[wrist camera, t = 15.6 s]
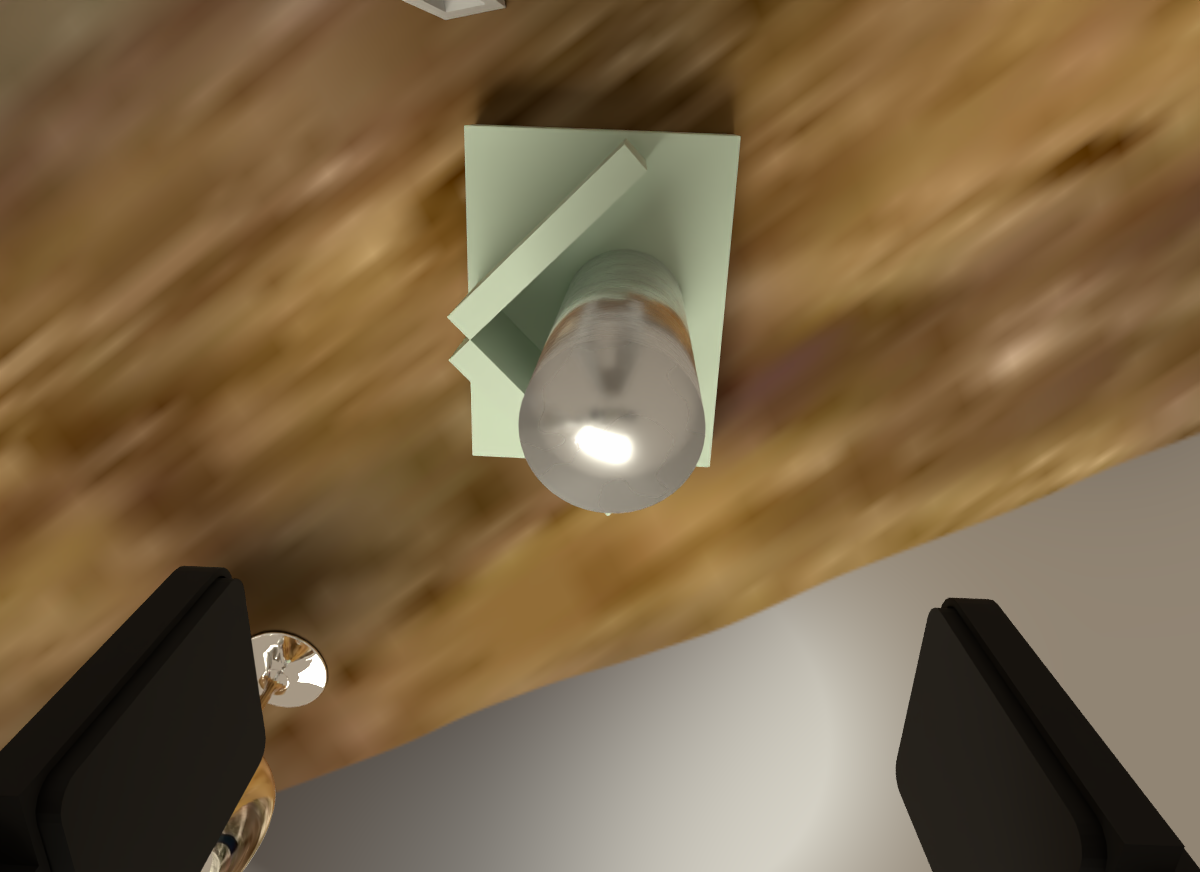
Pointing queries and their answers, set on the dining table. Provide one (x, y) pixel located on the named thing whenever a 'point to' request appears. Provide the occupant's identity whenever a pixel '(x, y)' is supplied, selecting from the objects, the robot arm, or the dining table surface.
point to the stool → (457, 7)
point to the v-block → (583, 247)
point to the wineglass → (284, 681)
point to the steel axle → (615, 389)
